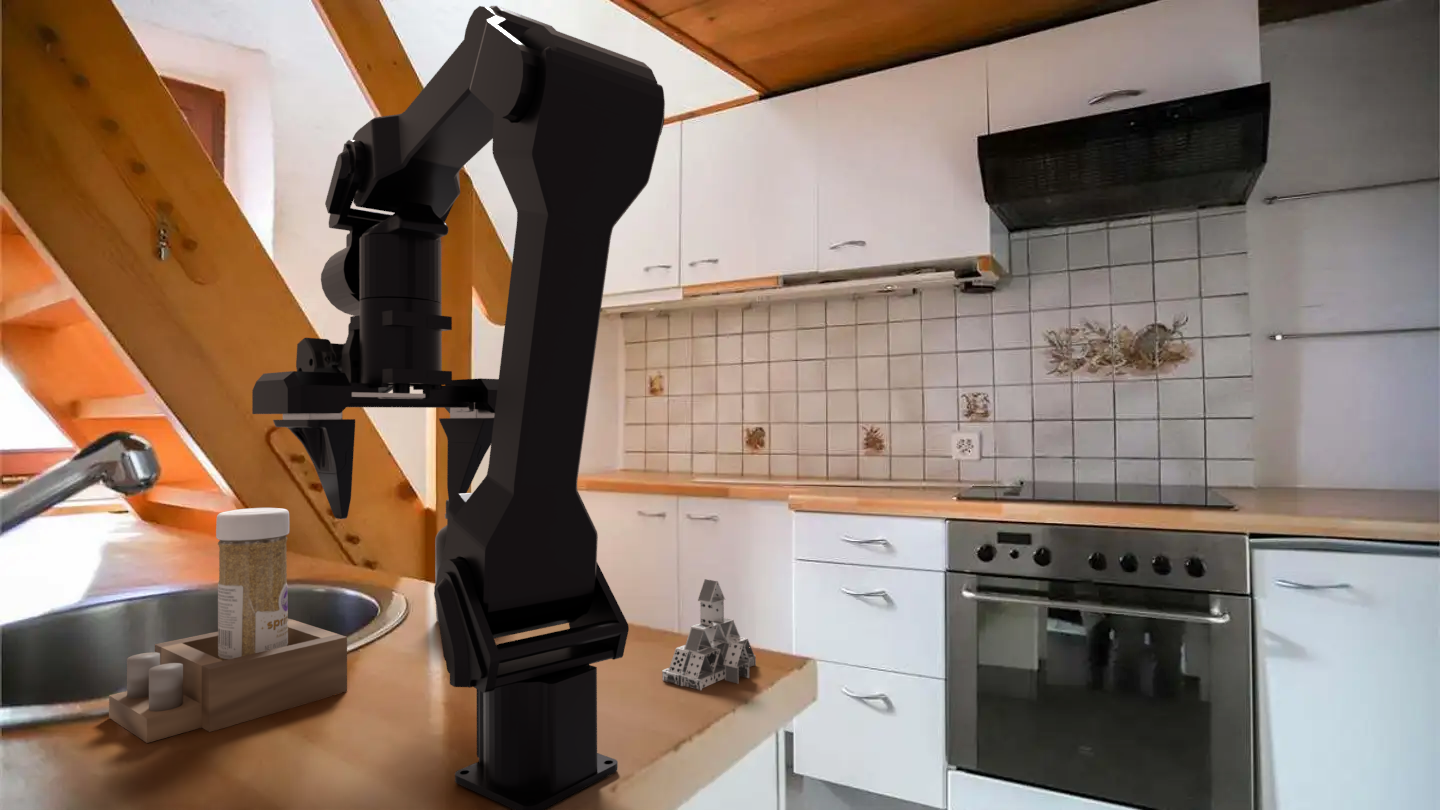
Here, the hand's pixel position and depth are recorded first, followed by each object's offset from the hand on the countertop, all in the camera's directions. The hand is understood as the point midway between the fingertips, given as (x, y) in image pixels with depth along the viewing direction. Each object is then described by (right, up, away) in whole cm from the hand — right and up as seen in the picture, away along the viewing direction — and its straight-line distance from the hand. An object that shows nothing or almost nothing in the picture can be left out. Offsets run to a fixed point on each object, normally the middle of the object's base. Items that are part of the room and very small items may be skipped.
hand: (401, 511), depth 59 cm
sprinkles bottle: (-10, -13, -2) cm, 17 cm away
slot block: (-11, -13, -3) cm, 17 cm away
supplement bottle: (-1, -14, +19) cm, 23 cm away
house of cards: (+24, -13, 0) cm, 28 cm away
